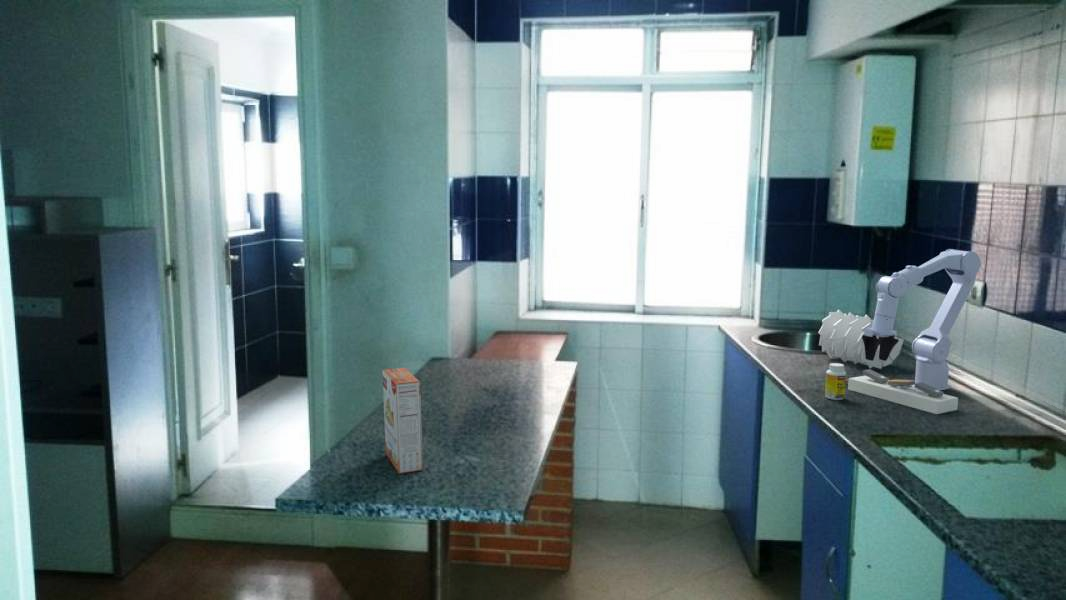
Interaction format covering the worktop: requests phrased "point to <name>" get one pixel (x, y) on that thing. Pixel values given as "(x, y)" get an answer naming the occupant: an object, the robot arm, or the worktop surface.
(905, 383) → the orange flat bar
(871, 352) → the robot arm
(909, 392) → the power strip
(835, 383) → the supplement bottle
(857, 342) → the white ribbed cylinder
